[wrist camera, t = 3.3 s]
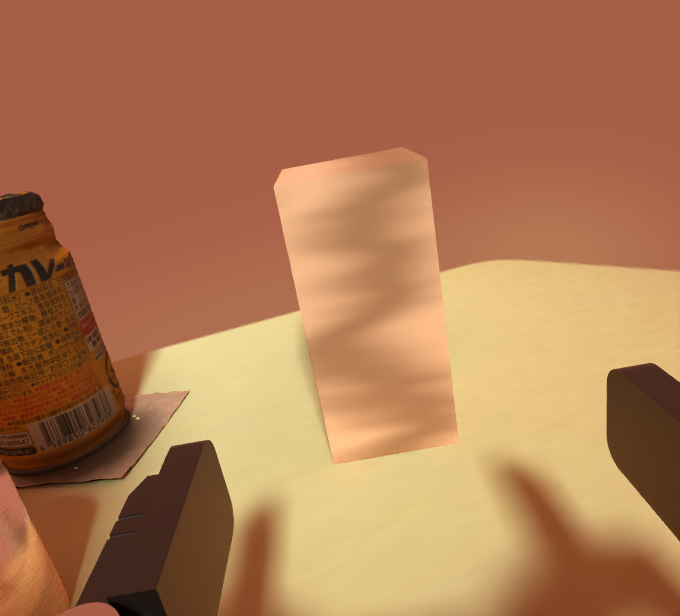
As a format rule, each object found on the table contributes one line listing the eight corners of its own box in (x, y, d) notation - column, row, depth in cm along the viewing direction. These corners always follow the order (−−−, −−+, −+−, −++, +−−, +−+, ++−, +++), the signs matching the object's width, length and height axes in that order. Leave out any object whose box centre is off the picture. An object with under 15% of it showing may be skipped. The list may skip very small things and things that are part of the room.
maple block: (333, 464, 21) (273, 186, 17) (330, 399, 26) (282, 169, 22) (458, 442, 21) (426, 158, 17) (432, 381, 26) (402, 147, 22)
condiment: (54, 405, 31) (-34, 198, 26) (190, 393, 29) (120, 171, 25) (-47, 494, 24) (-187, 236, 20) (123, 484, 22) (11, 202, 18)
